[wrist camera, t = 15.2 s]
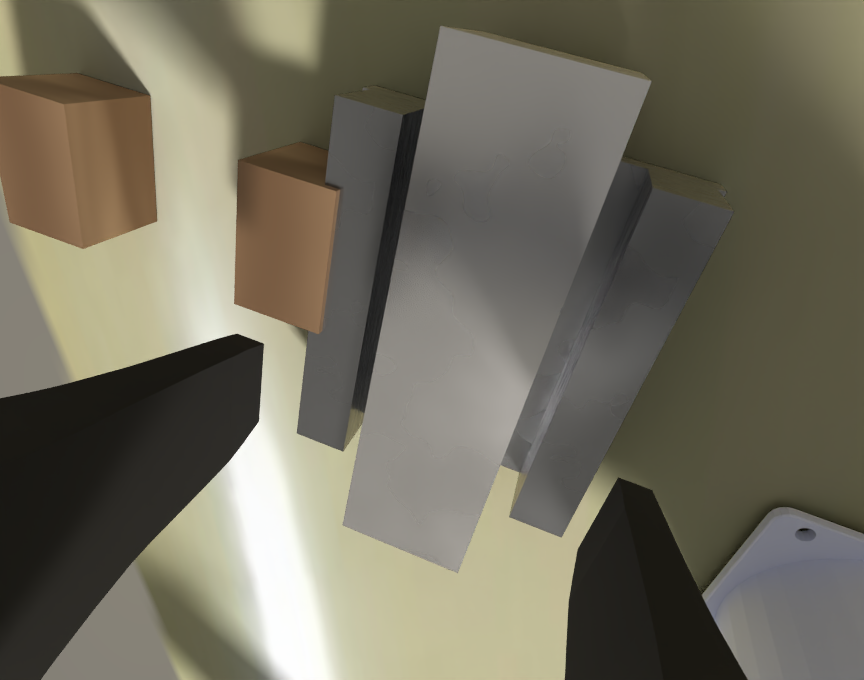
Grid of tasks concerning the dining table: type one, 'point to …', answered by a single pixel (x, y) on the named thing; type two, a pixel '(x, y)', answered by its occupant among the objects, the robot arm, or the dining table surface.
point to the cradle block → (576, 326)
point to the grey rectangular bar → (481, 276)
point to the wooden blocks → (135, 188)
